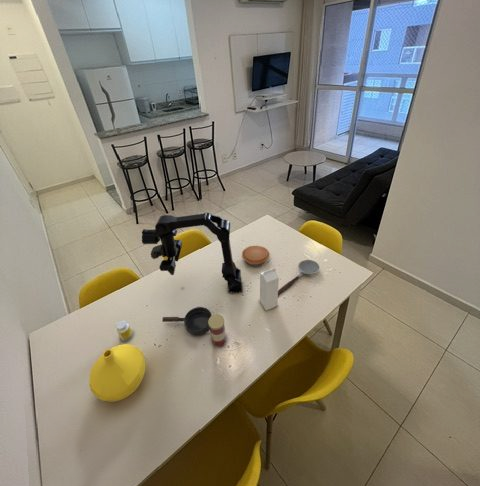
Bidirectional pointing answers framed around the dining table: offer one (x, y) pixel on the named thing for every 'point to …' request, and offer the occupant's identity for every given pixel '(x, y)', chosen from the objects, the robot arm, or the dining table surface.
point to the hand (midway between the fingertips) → (174, 267)
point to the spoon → (302, 272)
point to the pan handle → (172, 319)
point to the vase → (117, 372)
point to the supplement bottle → (124, 330)
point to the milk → (269, 288)
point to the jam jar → (217, 329)
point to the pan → (197, 321)
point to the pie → (255, 255)
